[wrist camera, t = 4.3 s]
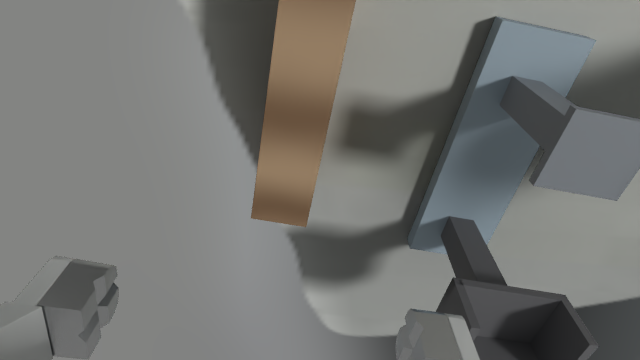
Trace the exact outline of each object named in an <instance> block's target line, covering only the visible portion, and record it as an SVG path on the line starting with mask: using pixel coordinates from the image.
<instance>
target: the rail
mask: <svg viewBox="0 0 640 360" xmlns="http://www.w3.org/2000/svg"><path fill="white" fill-rule="evenodd" d="M355 2H356V0H279V3H278V11H277V19H276V27H275V35H274V42H273V50H272V58H271V66H270V74H269V82H268V89H267V97H266V105H265V113H264V121H263V128H262V136H261V144H260V152H259V160H258V168H257V176H256V184H255V191H254V199H253V207H252V215H251V218H253V219H259V220H265V221H272V222H278V223H284V224H290V225H296V226H303V227H306V225H307V220H308V216H309V211H310V207H311V202H312V198H313V193H314V189H315V184H316V179H317V175H318V170H319V166H320V161H321V157H322V152H323V147H324V143H325V138H326V134H327V129H328V125H329V120H330V116H331V111H332V106H333V102H334V97H335V93H336V88H337V84H338V79H339V75H340V70H341V65H342V61H343V56H344V52H345V47H346V43H347V38H348V33H349V29H350V24H351V20H352V15H353V11H354V6H355Z"/></svg>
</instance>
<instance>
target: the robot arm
mask: <svg viewBox="0 0 640 360" xmlns="http://www.w3.org/2000/svg"><path fill="white" fill-rule="evenodd" d="M116 277H117V269H116V266H114V265H109V264H103V263H97V262H91V261H85V260H80V259H71V258H66V257H60V256H55V257H53V258H51V259H50V260H49V261H48V262H47V263H46V264H45V265H44V266H43V268H42V269H41V270H40V271H39V272H38V273H37V274H36V276H35V277H34V278H33V279H32V280H31V282H30V283H29V284H28V285H27V286H26V287H25V289H23V291H22V292H21V293H20V294H19V295H18V296H17V298H16V299H15V300H14V301H13V302H5V303H3V304H0V360H51V359H53V356H57V357H68V358H77V359H89V358H90V356H91V354H92V353H93V351H94V349H95V347H96V345H97V344H98V342H99V340H100V338H101V331H100V328H102V327H103V326H105V325H107V324H108V323H109V322H110V320H111V319H112V317H113V315H114V313H115V310H116V307H117V304H118V297H119V289H118V287H117V286H116V285H115V284H114V280H115V279H116ZM405 320H406V325H404V326H403V327H401V328H400V330H399V332H398V335H397V340H396V357H397V360H480V359H479V356H478V353H477V351H476V348H475V345H474V343H473V340H472V337H471V335H470V332H469V330H468V327H467V324H466V322H465V319H464V318H463V317H462V316H460V315H453V314H446V313H444V314H443V313H439V312H432V311H424V310H417V309H410V310H409V311H408V312H407V314H406V316H405Z"/></svg>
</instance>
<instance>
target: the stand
mask: <svg viewBox="0 0 640 360" xmlns="http://www.w3.org/2000/svg"><path fill="white" fill-rule="evenodd" d="M595 42H596V40H594V39H591V38H589V37H586V36H583V35H578V34H574V33H569V32H564V31H560V30H555V29H551V28H546V27H542V26H537V25H532V24H528V23H523V22H519V21H514V20H510V19H505V18H500V17H495V19H494V22H493V24H492V27H491V29H490V32H489V34H488V37H487V39H486V42H485V44H484V47H483V49H482V52H481V55H480V57H479V60H478V62H477V65H476V67H475V70H474V72H473V75H472V77H471V80H470V82H469V85H468V87H467V90H466V92H465V95H464V97H463V100H462V102H461V105H460V107H459V110H458V112H457V115H456V118H455V120H454V123H453V125H452V128H451V130H450V133H449V135H448V138H447V140H446V143H445V145H444V148H443V150H442V153H441V155H440V158H439V160H438V163H437V165H436V168H435V170H434V173H433V175H432V178H431V181H430V183H429V186H428V188H427V191H426V193H425V196H424V198H423V201H422V203H421V206H420V208H419V211H418V213H417V216H416V218H415V221H414V223H413V226H412V228H411V231H410V233H409V236H408V238H407V240H408V243H409V247H410V248H411V249H417V250H423V251H429V252H436V253H442V254H448V257H449V260H450V262H451V265H452V268H453V270H454V273H455V276H456V278H453V279H452V281H451V282H450V284H449V286H448V288H447V290H446V292H445V294H444V296H443V298H442V300H441V302H440V304H439V306H438V308H437V310H436V312H439V313H443V314H444V313H446V314H453V315H460V316H462V317H463V318H464V319H465V322H466V324H467V327H468V330H469V332H470V335H471V337H472V340H473V343H474V345H475V348H476V351H477V353H478V356H479V359H480V360H587V359H588V358H589V357H590V356H591V355H592V353H593V352H594V351H595V350H596V349H597V347H599V346H598V344H597V343H596V341H595V340H594V338H593V337H592V335H591V334H590V332H589V331H588V329H587V328H586V326H585V325H584V323H583V322H582V320H581V319H580V317H579V316H578V314H577V312H576V311H575V309H574V308H573V306H572V305H571V303H570V302H569V300H568V299H567V297H566V296H565V295H562V294H555V293H549V292H543V291H536V290H530V289H523V288H517V287H511V286H507V284H506V282H505V280H504V278H503V276H502V274H501V272H500V270H499V268H498V267H497V265H496V263H495V261H494V259H493V257H492V255H491V253H490V251H489V249H488V247H487V244H488V242H489V240H490V238H491V236H492V235H493V233H494V231H495V229H496V227H497V225H498V223H499V221H500V220H501V218H502V216H503V214H504V212H505V210H506V208H507V207H508V205H509V203H510V201H511V199H512V197H513V195H514V193H515V192H516V190H517V188H518V186H519V184H520V182H521V180H522V178H523V177H524V175H525V173H526V171H527V169H528V167H529V165H530V163H531V162H532V160H533V158H534V156H535V154H536V152H537V150H538V149H539V147H540V146H541V147H542V148H543V149H544V150H545V152H544V154H543V156H542V158H541V160H540V161H539V163H538V165H537V167H536V169H535V171H534V172H533V174H532V176H531V178H530V180H529V181H530V182H531V183H532V184H533V186H538V187H543V188H549V189H554V190H560V191H565V192H571V193H576V194H582V195H587V196H593V197H598V198H604V199H609V200H615V201H617V200H618V199H619V197H620V196H621V194H622V193H623V192H624V190H625V189H626V187H627V186H628V184H629V183H630V182H631V180H632V179H633V177H634V176H635V174H636V173H637V172H638V170H639V169H640V119H637V118H632V117H627V116H623V115H618V114H613V113H608V112H603V111H598V110H593V109H588V108H583V107H578V106H576V105H575V104H573V103H572V102H571V101H569V100H568V99H566V96H567V94H568V92H569V91H570V89H571V87H572V85H573V83H574V81H575V79H576V77H577V76H578V74H579V72H580V70H581V68H582V66H583V64H584V63H585V61H586V59H587V57H588V55H589V53H590V51H591V49H592V48H593V46H594V44H595Z"/></svg>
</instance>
